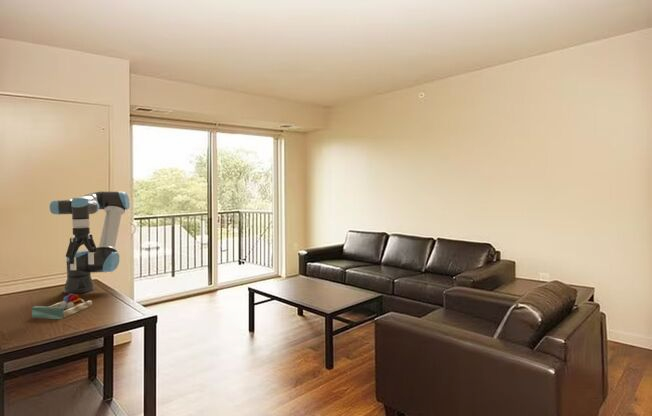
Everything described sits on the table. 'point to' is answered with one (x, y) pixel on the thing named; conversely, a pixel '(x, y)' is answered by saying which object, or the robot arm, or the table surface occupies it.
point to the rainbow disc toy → (71, 301)
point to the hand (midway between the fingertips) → (82, 267)
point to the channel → (57, 310)
